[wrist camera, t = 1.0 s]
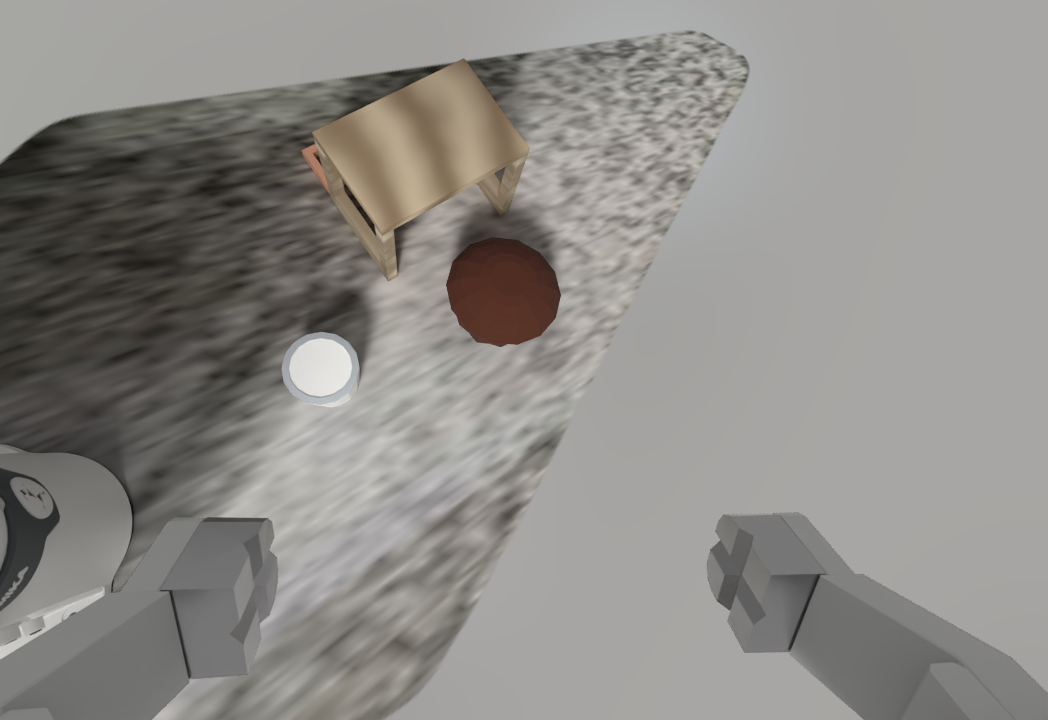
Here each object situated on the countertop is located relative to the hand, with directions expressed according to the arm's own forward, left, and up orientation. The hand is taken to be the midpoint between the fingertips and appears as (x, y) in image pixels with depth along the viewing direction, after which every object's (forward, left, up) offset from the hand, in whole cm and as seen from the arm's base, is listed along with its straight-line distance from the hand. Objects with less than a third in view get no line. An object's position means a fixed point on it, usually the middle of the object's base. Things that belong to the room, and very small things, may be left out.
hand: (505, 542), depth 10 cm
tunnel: (+17, +27, -50) cm, 59 cm away
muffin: (+17, +12, -50) cm, 54 cm away
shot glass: (-2, +15, -50) cm, 53 cm away
